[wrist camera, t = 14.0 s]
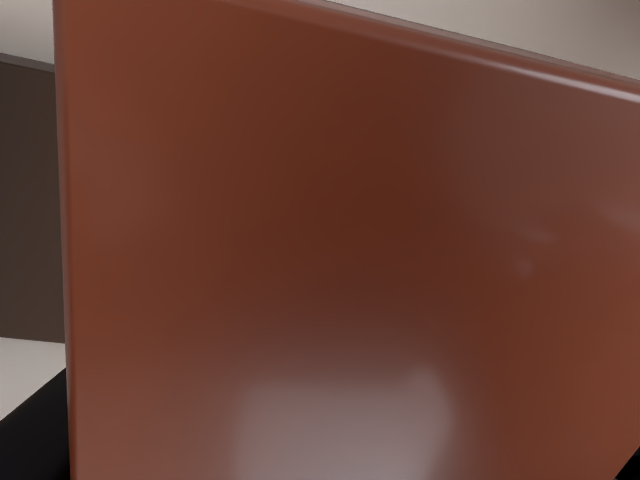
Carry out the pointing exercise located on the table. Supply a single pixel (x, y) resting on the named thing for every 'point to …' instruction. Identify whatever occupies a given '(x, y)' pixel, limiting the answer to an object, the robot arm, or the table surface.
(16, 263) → the board
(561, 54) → the table surface
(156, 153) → the reddish orange block
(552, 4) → the table surface
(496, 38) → the table surface
